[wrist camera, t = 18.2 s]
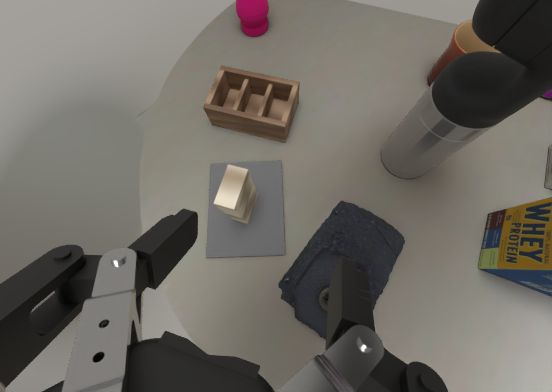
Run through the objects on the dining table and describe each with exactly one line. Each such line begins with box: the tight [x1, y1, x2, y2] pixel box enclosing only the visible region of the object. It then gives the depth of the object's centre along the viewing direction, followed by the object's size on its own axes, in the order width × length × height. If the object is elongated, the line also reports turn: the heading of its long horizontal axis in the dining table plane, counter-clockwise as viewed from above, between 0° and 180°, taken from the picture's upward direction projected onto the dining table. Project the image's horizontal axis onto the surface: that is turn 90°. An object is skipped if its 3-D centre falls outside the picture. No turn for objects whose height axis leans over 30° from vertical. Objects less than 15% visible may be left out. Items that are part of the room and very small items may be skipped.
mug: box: [428, 20, 501, 85], centre depth 46 cm, size 12×9×10 cm
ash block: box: [213, 164, 258, 224], centre depth 39 cm, size 6×3×12 cm, turn 163°
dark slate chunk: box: [279, 201, 405, 340], centre depth 40 cm, size 15×22×5 cm
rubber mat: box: [206, 160, 285, 258], centre depth 45 cm, size 18×14×1 cm
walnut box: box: [203, 66, 300, 142], centre depth 48 cm, size 10×16×6 cm, turn 73°
